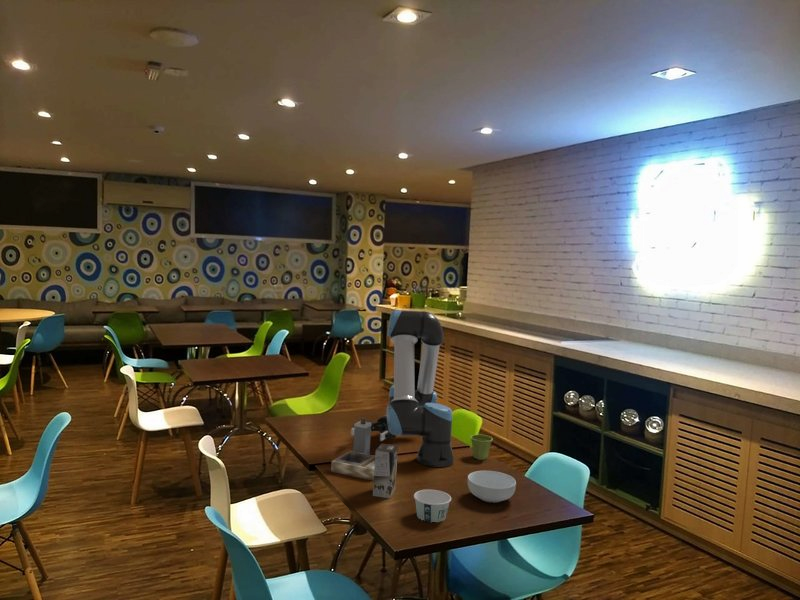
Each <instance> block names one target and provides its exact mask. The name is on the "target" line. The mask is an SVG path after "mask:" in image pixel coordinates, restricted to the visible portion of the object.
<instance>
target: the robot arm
mask: <svg viewBox="0 0 800 600" xmlns="http://www.w3.org/2000/svg"><path fill="white" fill-rule="evenodd" d="M389 316H390V317H389V321H388V326H387V336H388V337H389V338H390V342H391V343H392V344H394V347H393V348H394V351H393V352H394V353H393V354H394V355H393V357H394V358H393V385H391V386H390V387H389V394H388V405H387V406H386V410H385V411H386V414H384V415H383V416H381V417H379V418H378V419H377V421H375V422H372V421H370V420H369V421H367V422H368V423H372V426H371V432H379V433H380V434H379V435H380V436H379V441H380V442H383V441H384V440H386V439H388V438H395V439H396V438H397V436H400V437H402V436H413V437H417V436H418V437H422V440H421V444H420V446H419V448H418V451H417V455H416V461H417V462H418V463H419V464H421V465H423V466H428V467H433V468H444V467H449V466H450V467H451V466H452V465H454V462H455V455H454V453H453V448H452V444H451V443H452V442H451V440H452V428H453V427H452V426H453V411H452V408H450V407H448V406H447V405H443V404H441V403H437V402H438V395H437V392H436V391H434V388H435V382H436V374H437V368H438V362H439V361H438V359H439V353H440V347H441V345H443V342H444V331H443V330H444V329H443V326H442V324H441V322H440V321H439V319H438V318H437V316H435V315H434V314H433V313H432V312H429V311H425V310H422V311H420V310H407V309H406V310H403V309H400V310H399V309H398V310H397V309H395V310H393V311H391V313H390V315H389ZM419 339H421V340H420V341H421V343H422V349H421V357H420V364H419V372H418V380H417V387H416V386H415V384H416V383H415V344H417V342H418V340H419ZM415 387H416V388H417V389H416V390H415ZM354 424H355V423H353V426H352V428H350V436H353V437H354V429H355V426H354Z"/></svg>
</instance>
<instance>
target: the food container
mask: <svg viewBox="0 0 800 600" xmlns="http://www.w3.org/2000/svg"><path fill="white" fill-rule="evenodd" d="M413 498H414V500H415V511H416V517H417V519H419V520H420V519H421V521H423V520H424V521H423V522H426V521H428V522H427V523H432V522H436V523H441V521H442V522H444V521H445V520H446V517H447V514H448V510H449V505H450V502H451V501H452V497H451V495H450V494H449V493H447V492H445V491H442V490H437V489H422V490H421V489H420V490H418V491H415V493H414V494H413Z"/></svg>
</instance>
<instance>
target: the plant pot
mask: <svg viewBox="0 0 800 600" xmlns="http://www.w3.org/2000/svg"><path fill="white" fill-rule="evenodd" d="M469 438H470V441H471V443H472V444H471V446H472V457H473V458H474V459H477V460H480V461H481V460H482V461H484V460H487V459H488V457H489V452H490V448H491V444H492V441H493V439H494V438H493V437H492V436H490V435H486V434H473V435H470V437H469Z"/></svg>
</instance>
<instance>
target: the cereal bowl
mask: <svg viewBox="0 0 800 600" xmlns="http://www.w3.org/2000/svg"><path fill="white" fill-rule="evenodd" d="M467 486H468V490H469V492H471V494H472V495H474V496H475V497H476V498H479V499H480V500H481V501H483V502H485V503H491V502H492V503H493V504H494V503H496V504H497V503H500V502H503V501H506V500H508V499H510V498H512V497H513V495H514V493H515V492H516V488H517V482H516V479H515V478H514V477H513V476H511V475H509V474H507V473H504V472H500V471H495V470H477V471H473V472H471V473H469V474H468V475H467Z"/></svg>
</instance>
